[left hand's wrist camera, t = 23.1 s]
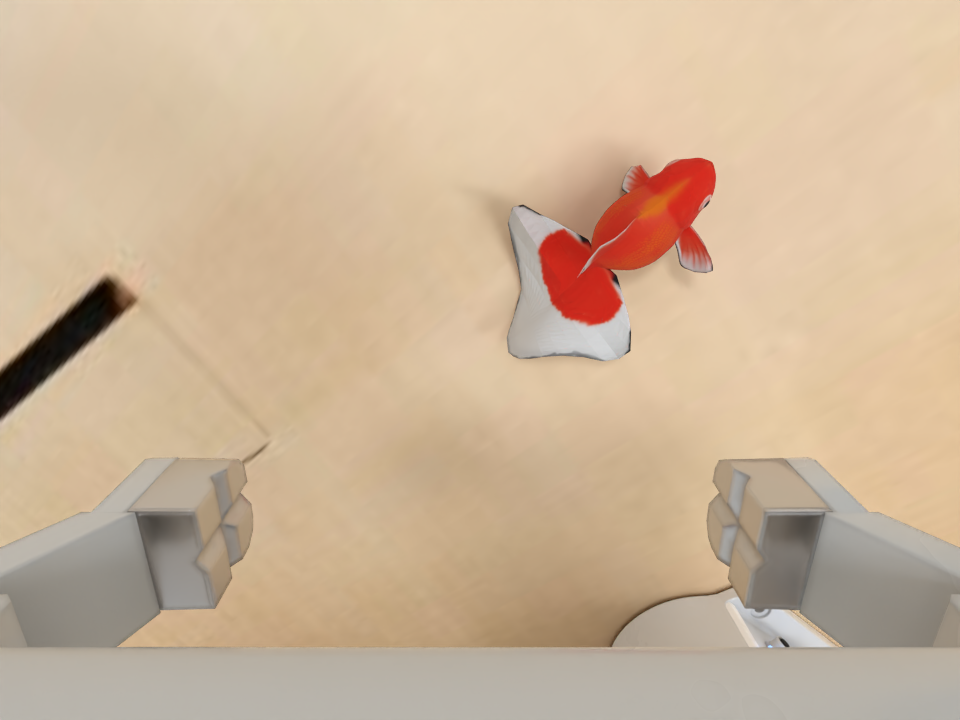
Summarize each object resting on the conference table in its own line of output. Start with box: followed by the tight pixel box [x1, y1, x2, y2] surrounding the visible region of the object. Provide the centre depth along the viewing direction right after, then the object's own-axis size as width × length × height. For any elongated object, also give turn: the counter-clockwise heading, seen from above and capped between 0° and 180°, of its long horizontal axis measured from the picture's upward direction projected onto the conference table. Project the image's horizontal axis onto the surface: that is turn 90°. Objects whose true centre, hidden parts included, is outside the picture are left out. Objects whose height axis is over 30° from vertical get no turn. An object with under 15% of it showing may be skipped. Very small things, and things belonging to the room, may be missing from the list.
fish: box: [507, 158, 716, 361], centre depth 35 cm, size 11×16×10 cm
